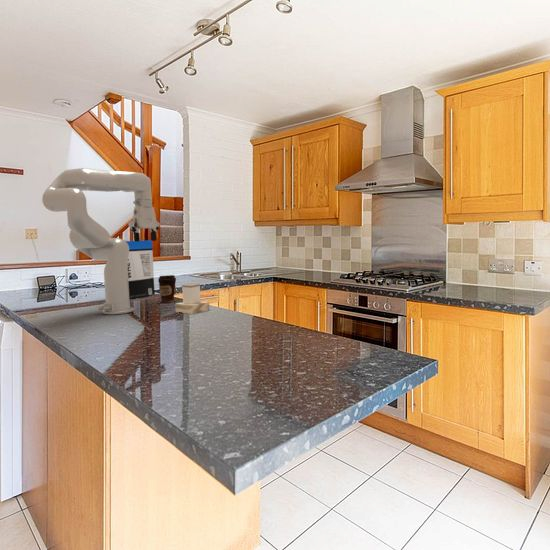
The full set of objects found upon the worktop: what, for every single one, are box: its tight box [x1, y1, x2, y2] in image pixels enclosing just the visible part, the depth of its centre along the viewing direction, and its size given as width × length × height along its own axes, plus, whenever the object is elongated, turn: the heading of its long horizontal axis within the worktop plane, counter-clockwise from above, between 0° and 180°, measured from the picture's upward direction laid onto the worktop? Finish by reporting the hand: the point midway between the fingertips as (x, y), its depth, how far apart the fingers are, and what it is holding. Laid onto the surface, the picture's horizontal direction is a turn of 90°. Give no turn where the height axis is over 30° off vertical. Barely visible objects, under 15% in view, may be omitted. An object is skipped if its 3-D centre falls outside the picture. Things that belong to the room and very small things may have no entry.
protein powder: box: [125, 239, 156, 300], centre depth 219 cm, size 10×24×30 cm, turn 148°
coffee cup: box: [157, 274, 177, 303], centre depth 202 cm, size 9×8×13 cm
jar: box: [181, 283, 202, 304], centre depth 175 cm, size 5×5×8 cm
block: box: [174, 300, 210, 315], centre depth 176 cm, size 10×10×4 cm
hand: (145, 241), depth 193 cm, fingers open, 9 cm apart
